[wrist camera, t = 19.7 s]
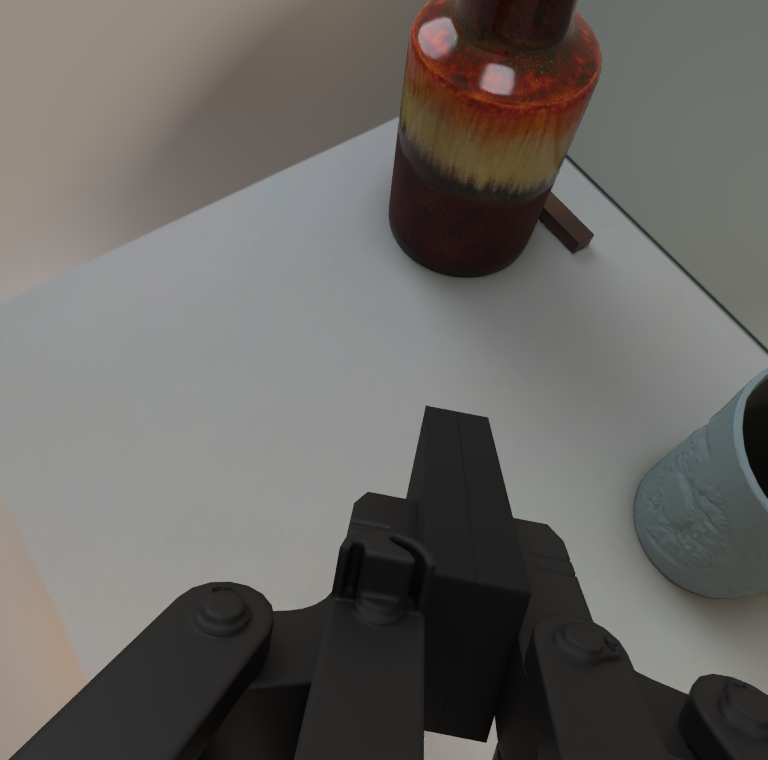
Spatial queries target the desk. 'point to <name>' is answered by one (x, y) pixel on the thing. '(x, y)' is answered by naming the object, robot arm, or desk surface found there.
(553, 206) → the strip
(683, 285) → the desk surface
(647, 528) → the grey-blue ceramic planter
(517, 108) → the vase
